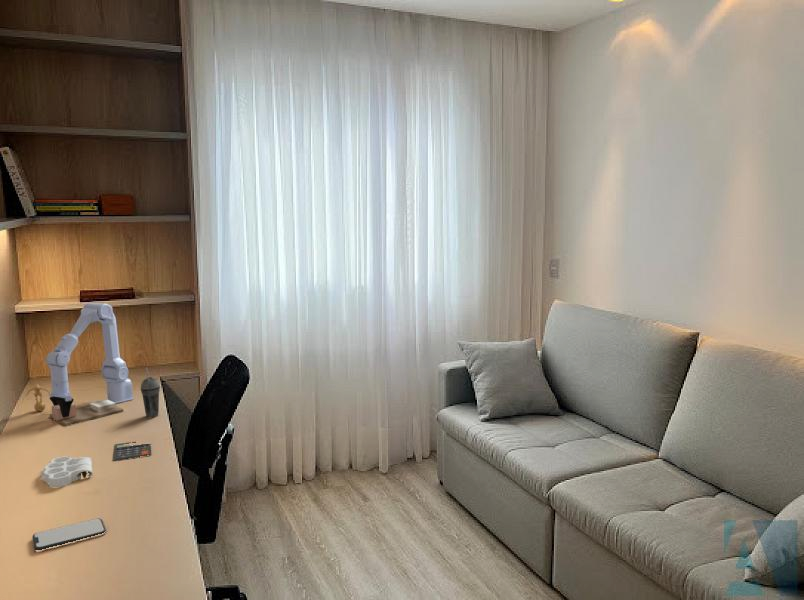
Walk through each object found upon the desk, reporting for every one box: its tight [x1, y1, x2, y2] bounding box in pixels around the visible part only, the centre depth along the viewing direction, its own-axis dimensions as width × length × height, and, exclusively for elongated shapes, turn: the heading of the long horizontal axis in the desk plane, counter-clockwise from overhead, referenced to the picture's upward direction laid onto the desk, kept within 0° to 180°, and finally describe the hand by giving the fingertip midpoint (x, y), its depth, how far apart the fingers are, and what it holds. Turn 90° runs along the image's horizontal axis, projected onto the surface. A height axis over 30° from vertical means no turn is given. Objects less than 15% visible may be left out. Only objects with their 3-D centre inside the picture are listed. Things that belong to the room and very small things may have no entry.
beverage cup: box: [140, 367, 161, 418], centre depth 250 cm, size 7×7×20 cm
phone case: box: [32, 518, 107, 551], centre depth 161 cm, size 9×2×16 cm
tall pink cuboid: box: [51, 402, 77, 421], centre depth 247 cm, size 7×5×4 cm
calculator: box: [112, 441, 152, 462], centre depth 216 cm, size 12×1×15 cm
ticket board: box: [49, 398, 124, 427], centre depth 253 cm, size 22×16×3 cm
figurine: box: [26, 383, 51, 412], centre depth 256 cm, size 8×6×12 cm
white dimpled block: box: [38, 456, 94, 488], centre depth 197 cm, size 3×18×15 cm
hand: (62, 415), depth 246 cm, fingers closed on tall pink cuboid, 5 cm apart
